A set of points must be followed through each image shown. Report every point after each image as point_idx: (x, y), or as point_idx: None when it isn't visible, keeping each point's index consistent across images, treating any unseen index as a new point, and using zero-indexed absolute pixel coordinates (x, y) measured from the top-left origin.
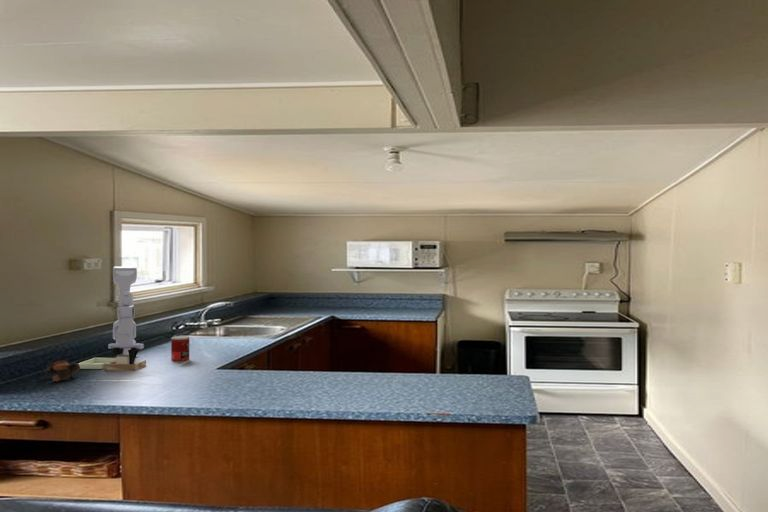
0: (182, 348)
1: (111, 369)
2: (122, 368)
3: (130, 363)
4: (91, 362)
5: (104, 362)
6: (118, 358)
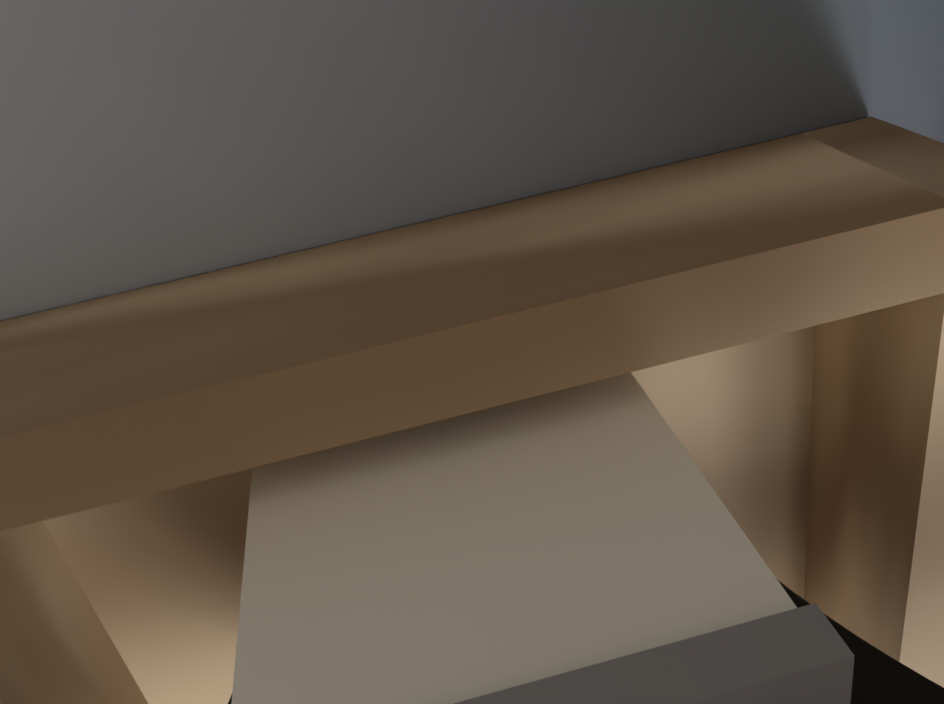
0: None
1: (685, 188)
2: (307, 296)
3: None
4: None
5: None
6: (658, 573)
